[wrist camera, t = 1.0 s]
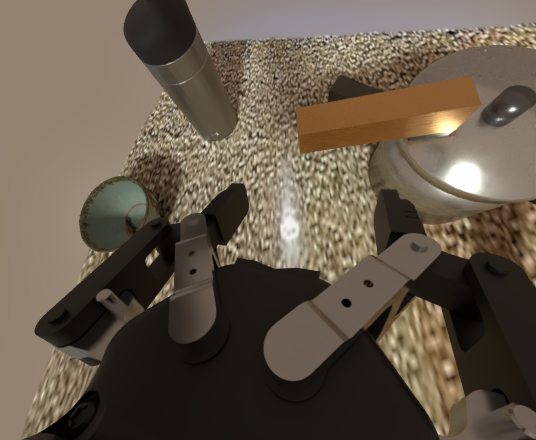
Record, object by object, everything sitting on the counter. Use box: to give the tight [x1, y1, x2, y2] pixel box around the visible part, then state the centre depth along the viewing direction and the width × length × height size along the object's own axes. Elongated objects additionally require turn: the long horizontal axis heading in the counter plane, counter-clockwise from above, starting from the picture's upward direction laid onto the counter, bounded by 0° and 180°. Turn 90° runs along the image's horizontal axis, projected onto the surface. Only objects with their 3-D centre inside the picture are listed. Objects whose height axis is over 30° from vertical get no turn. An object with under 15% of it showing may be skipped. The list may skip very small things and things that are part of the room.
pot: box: [328, 75, 536, 225], centre depth 30 cm, size 32×18×12 cm, turn 54°
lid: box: [296, 45, 536, 204], centre depth 21 cm, size 30×19×6 cm, turn 94°
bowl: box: [79, 176, 161, 253], centre depth 39 cm, size 14×13×8 cm
